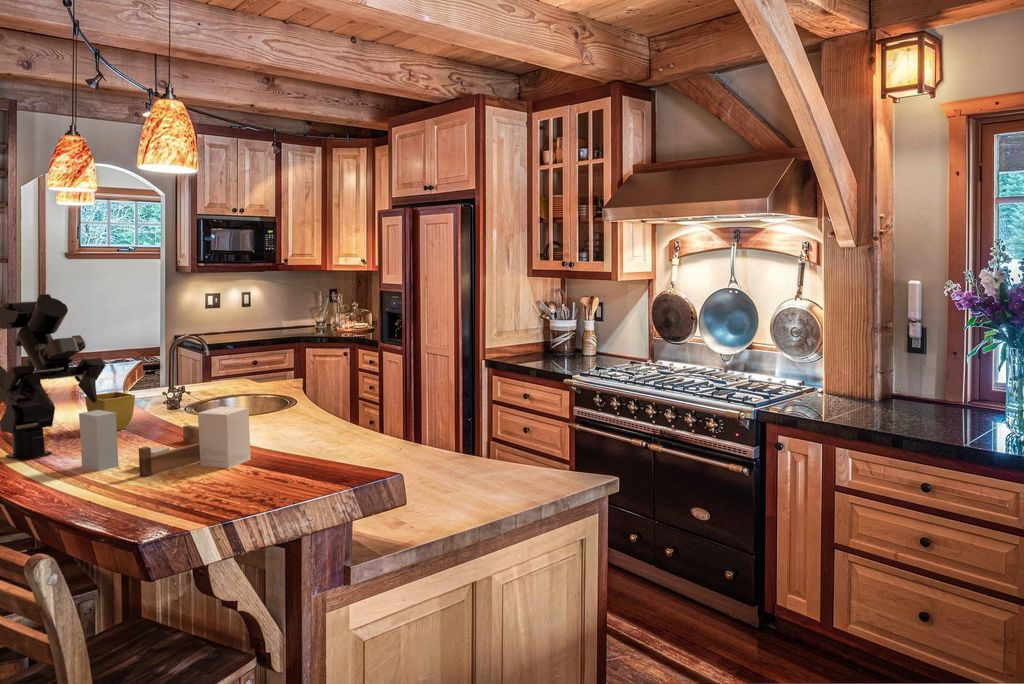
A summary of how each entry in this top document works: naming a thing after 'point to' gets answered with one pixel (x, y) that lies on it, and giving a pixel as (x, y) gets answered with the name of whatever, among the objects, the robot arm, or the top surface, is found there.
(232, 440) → the supplement box
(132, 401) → the flower pot
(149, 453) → the frame
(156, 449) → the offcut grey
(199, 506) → the top surface
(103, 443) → the block
